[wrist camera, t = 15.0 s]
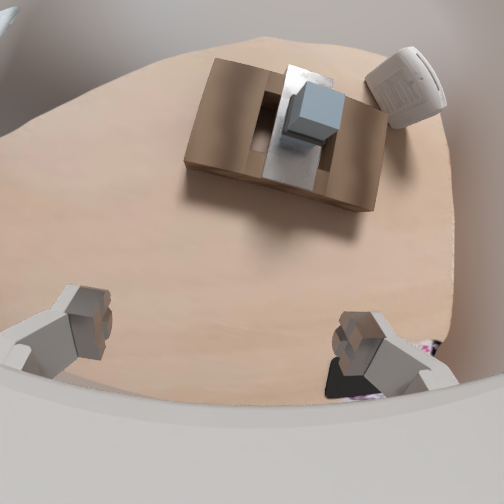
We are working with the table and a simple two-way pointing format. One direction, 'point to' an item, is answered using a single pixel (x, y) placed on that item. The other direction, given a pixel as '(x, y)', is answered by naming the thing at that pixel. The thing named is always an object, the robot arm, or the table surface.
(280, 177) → the white rectangular bar
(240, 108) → the brown tissue box
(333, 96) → the blue-gray rectangular block
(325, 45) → the table surface
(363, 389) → the phone
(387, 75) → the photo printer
